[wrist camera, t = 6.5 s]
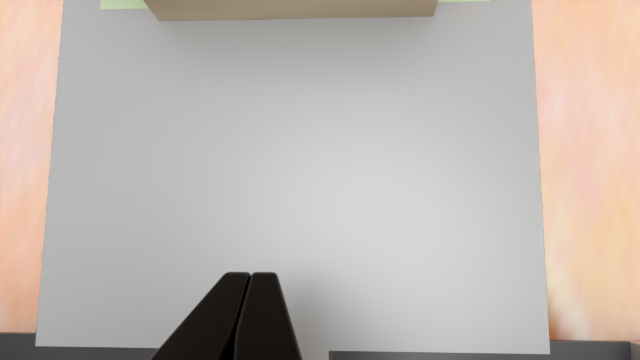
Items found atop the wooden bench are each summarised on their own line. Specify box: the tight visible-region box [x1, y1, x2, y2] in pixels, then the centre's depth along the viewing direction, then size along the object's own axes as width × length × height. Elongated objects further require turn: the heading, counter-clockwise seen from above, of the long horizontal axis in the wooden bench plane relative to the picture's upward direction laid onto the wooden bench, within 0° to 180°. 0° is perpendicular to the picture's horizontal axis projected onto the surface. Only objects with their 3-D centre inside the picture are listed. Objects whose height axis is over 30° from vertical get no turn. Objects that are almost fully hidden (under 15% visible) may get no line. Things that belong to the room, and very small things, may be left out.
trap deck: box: [0, 0, 640, 360], centre depth 16 cm, size 30×22×3 cm
